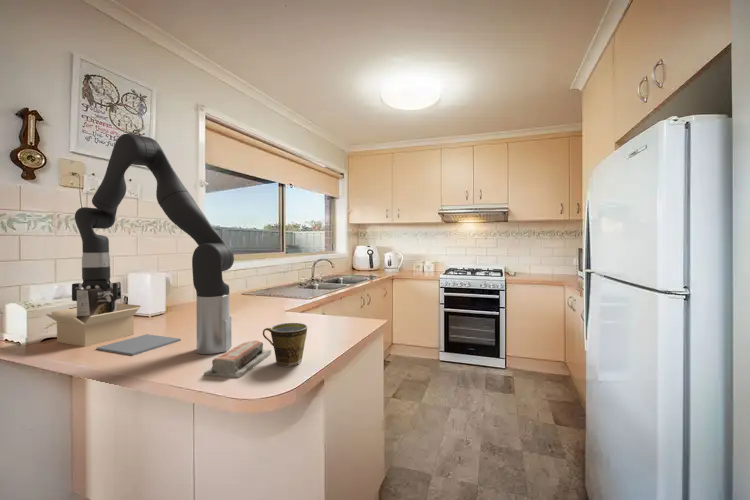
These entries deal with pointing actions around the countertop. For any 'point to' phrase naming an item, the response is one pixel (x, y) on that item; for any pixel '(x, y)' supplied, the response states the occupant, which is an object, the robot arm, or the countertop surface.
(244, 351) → the packaged product
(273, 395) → the countertop surface
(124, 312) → the carton
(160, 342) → the mat
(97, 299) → the coffee box
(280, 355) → the ceramic cup
